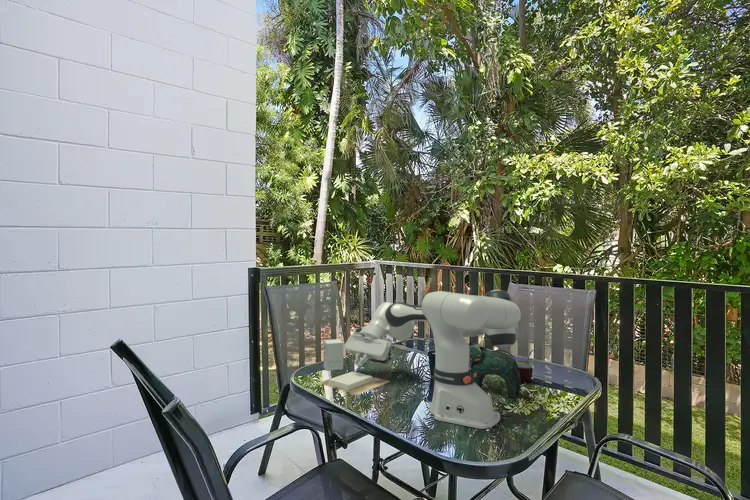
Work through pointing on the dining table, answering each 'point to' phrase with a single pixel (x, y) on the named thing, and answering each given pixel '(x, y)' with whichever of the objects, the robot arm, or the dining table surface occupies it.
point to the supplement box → (333, 354)
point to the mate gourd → (525, 370)
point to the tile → (350, 380)
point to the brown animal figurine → (380, 360)
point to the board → (360, 389)
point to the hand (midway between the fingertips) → (357, 364)
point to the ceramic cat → (495, 367)
